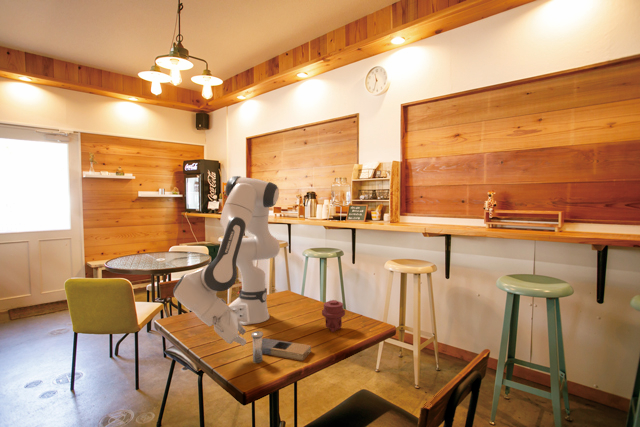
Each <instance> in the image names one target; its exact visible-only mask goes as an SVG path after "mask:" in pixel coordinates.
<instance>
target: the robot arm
mask: <svg viewBox="0 0 640 427" xmlns="http://www.w3.org/2000/svg"><path fill="white" fill-rule="evenodd" d="M225 196H226V200H225V203H224V205H223V207H222V210H221V215H220V220H219V224H220V225H221V227H222V229H223V237H222V240H221V242H220V246H219V248H218V252H217V255H216V257H215V258H214V259H213V260H212V261H211V262H210V263H209V264H207V265H206V266H204V267H201V268H200V269H198V270H197V269H196V270H195V271H192V272H189V273H185V274H182V275H181V277H180V278H179V280H178V281H177V283H176V284H175V285H174V287H173V290H172V291H173V296H174V298H175V299H176V300H177V301H178V302H179V303H180V304H181V305H183V307H185V308H186V309H187V310H189V311H190V312H193V313H194V314H195V316H196V317H197V318H198V319H199V320H200V321H202V323H204V324H205V325H206V326H208V327H211V326H212V325H213V330H214V332H215V333H216V334H217V335H218V336H219V337H220V338H221V339H222V340H224V341H225V343H227V344H229V345H231V344H233V343H234V342H235V343H237V344H239V345H241V346H242V347H243V346H245V345H246V344H247V339H245V338H244V337H242V336H243V335H245V333H246V328H245V327H243V326H248V325H252V324H259V323H263V322H266V321H268V320H269V319H270V314H269V310H268V304H267V298H268V296H267V295H268V294H267V293H268V291H267V287H266V285H267V284H266V282H267V281H266V273H265V271H264V269H262V268H259V267H257V266H255V265H254V261H262V260H270V259H272V258H276V257H278V255H279V253H280V250H281V245H280V242H279V241H278V239H277V238H276V237H274V236H273V235H272V233H271V232H270V229H269V217H270V216H269V214H270V208H273V207H274V206H275V205H276V204H277V202H278V200H279V197H280V192H279V186H278V185H277V184H275V183H273V182H270V181H269V182H268V181H265V180H262V179H258V178H251V177H242V176H240V175H237V176H232V177H230V178H229V179H228V180H227V182H226V185H225ZM246 232H248V233H250V234H252V235H254V236H251V237H250V236H249V237H244V235H245V233H246ZM237 268H238V270H239V273H240V277H241V289H239V290H238V291H237V295H238V297H237V298H236V299H235V300H233V301H232V302H231V303H230V304H229V305H228V304H226V303H227V302H226V300H224V299H223V298H220V297H218V296H217V293H218V292H225V291H227V290H229V289H230V288H232V287H233V286H234V284H236V280H237V276H238V271H237ZM240 334H241V335H242V336H241V335H240Z"/></svg>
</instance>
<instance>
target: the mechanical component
mask: <svg viewBox="0 0 640 427" xmlns="http://www.w3.org/2000/svg"><path fill="white" fill-rule="evenodd" d="M321 315H322V316H323V317H324V318H325V327H326V328H327V329H329V330H330V332H331V333H335V332H336V331H338V330H341V328H342V325H343V324H342V322H343V320H342V319H343V317H344V316H345V315H346V310H345V309H344V303H343V302H341V301H338V300H336V299H332V300H331V299H330V300H329V301H326V302H324V303H323V309H322V310H321Z"/></svg>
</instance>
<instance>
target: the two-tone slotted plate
mask: <svg viewBox="0 0 640 427" xmlns="http://www.w3.org/2000/svg"><path fill="white" fill-rule="evenodd" d="M311 353H312V345H309V344H303V343H298V342H291V341H286V340H285V341H284V340H278V339H272V338H265V337H264V338H263V337H262V355H268V356H272V357H273V356H274V357H279V358H284V359H289V360H291V359H292V360H295V361H301V362H303V361H304V360H305V359H306V358H307V357H308V356H309V355H310V354H311Z"/></svg>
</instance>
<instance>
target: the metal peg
mask: <svg viewBox="0 0 640 427" xmlns="http://www.w3.org/2000/svg"><path fill="white" fill-rule="evenodd" d="M250 334H251V338H252V362H253V363H254V364H259V363H262V362H263V354H262V339H263V336H264V332H263V331H260V330H258V331H257V330H256V331H254V332H251V333H250Z"/></svg>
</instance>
